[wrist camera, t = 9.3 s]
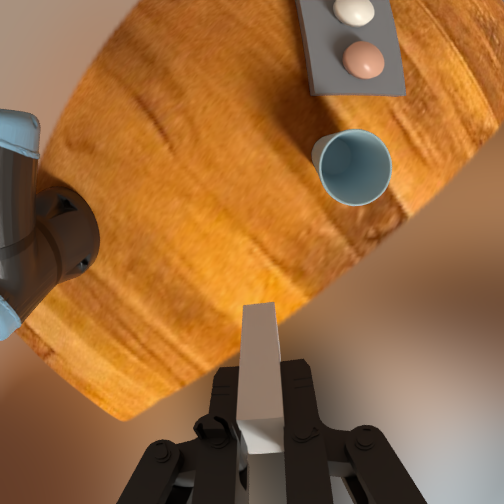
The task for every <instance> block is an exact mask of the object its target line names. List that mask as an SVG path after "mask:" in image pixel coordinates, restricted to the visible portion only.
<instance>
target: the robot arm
mask: <svg viewBox="0 0 504 504" xmlns="http://www.w3.org/2000/svg"><path fill="white" fill-rule="evenodd" d="M39 138H40V123H39V120H38V119H37V117H35V116H34V115H33V114H30V113H26V112H21V111H15V110H6V109H0V341H2V340H4V339H6V338H7V337H8V336H9V335H10V334H11V333H12V332H13V331H14V330H15V329H16V328H19V327H20V326H21V324H22V323H23V322H24V320H25V319H26V318H27V317H28V316H29V315H30V313H31V312H32V311H33V310H34V309H35V308H36V307H37V305H38V304H39V303H40V302H41V301H42V300H43V299H44V298H45V297H46V295H47V294H48V293H49V292H50V291H51V290H52V289H53V288H54V287H55V286H56V285H57V284H59V283H62V282H64V281H67V280H70V279H73V278H75V277H78V276H80V275H81V274H83V273H84V272H85V271H86V270H87V269H88V268H89V267H90V266H91V265H92V264H93V263H94V261H95V259H96V257H97V255H98V251H99V245H100V236H99V229H98V225H97V222H96V219H95V217H94V214H93V212H92V211H91V209H90V207H89V206H88V204H87V203H86V202H85V201H84V200H83V199H82V198H81V197H80V196H79V195H78V194H77V193H75V192H74V191H72V190H70V189H68V188H65V187H58V186H57V187H51V188H48V189H46V190H44V191H41V192H40V193H38V194H37V195H36V182H37V169H38V159H40V154H39ZM193 429H194V431H195V432H196V434H197V436H198V437H197V438H196V439H194V440H191V441H187V442H183V443H179V444H175V443H173V442H171V441H169V440H163V439H162V440H158V441H155V442H153V443H152V444H150V445H149V446H148V448H147V449H146V451H145V452H144V454H143V456H142V458H141V460H140V462H139V463H138V465H137V467H136V469H135V471H134V472H133V474H132V476H131V478H130V480H129V482H128V484H127V485H126V487H125V489H124V491H123V493H122V494H121V496H120V498H119V500H118V502H117V503H116V504H249V463H248V460H247V454H248V453H247V452H249V454H260V453H274V452H284V456H285V473H286V474H285V475H286V495H287V504H333V496H332V489H331V482H330V476H336V477H341V479H342V481H343V483H344V485H345V487H346V489H347V491H348V493H349V495H350V497H351V499H352V501H353V503H354V504H427V502H426V501H425V499H424V498H423V496H422V494H421V493H420V491H419V489H418V488H417V486H416V485H415V483H414V481H413V480H412V478H411V477H410V475H409V474H408V472H407V470H406V469H405V467H404V466H403V464H402V463H401V461H400V459H399V458H398V457H397V455H396V453H395V452H394V450H393V448H392V447H391V445H390V444H389V442H388V441H387V439H386V438H385V436H384V434H383V433H382V432H381V431H380V430H379V429H378V428H376V427H374V426H371V425H362V426H358V427H356V428H354V429H353V430H351V431H343V430H335V429H331V428H329V427H327V426H326V425H324V424H323V423H322V421H321V420H320V418H319V415H318V409H317V403H316V397H315V391H314V387H313V381H312V375H311V369H310V366H309V365H308V364H307V362H306V361H305V360H304V359H298V360H290V361H283V362H281V357H280V346H279V337H278V329H277V321H276V313H275V305H274V302H269V303H261V304H252V305H243V318H242V334H241V350H240V366H236V367H220V368H219V370H218V371H217V373H216V374H215V376H214V379H213V388H212V393H211V400H210V407H209V414H207V415H205V416H203V417H201V418H199V419H198V421H197V422H196V423H195V425H194V427H193Z"/></svg>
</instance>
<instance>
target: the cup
mask: <svg viewBox="0 0 504 504" xmlns="http://www.w3.org/2000/svg"><path fill="white" fill-rule="evenodd" d="M312 162H313V164H314V167H315V169H316V171H317V173H318V175H319V178H320V180H321V182H322V185H323V187H324V188H325V190H326V191H327V192H328V194H329V195H330V196H331V197H332V198H334V199H335V200H337V201H338V202H340V203H343V204H346V205H350V206H360V205H365V204H368V203H370V202H372V201H374V200H376V199H377V198H378V197H379V196H380V195H381V194H382V193H383V192H384V191H385V189H386V188H387V186H388V184H389V181H390V178H391V173H392V162H391V157H390V154H389V151H388V149H387V147H386V146H385V144H384V143H383V142H382V141H381V140H380V139H379V138H378V137H377V136H376V135H374V134H372V133H370V132H368V131H365V130H361V129H349V130H345V131H341V132H338V133H335V134H331V135H327V136H324V137H322V138H320V139H319V140H318V141H317V142H316V143H315V144H314V147H313V149H312Z"/></svg>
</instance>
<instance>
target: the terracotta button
mask: <svg viewBox="0 0 504 504" xmlns="http://www.w3.org/2000/svg"><path fill="white" fill-rule="evenodd" d="M342 60H343V65H344V67H345V69H346V70H347V71H348V73H349V74H351V75H352V76H354V77H355V78H358V79H363V80H365V79H370V78H373V77H376V76H378V75H379V74H380V73H381V72H382V71H383V68H384V58H383V55H382V53H381V52H380V50H379V49H378V48H377V47H376V46H374V45H373V44H371V43H369V42H365V41H358V42H355V43H353V44H352V45H350V46H349V47H348V48H347V49H346V50H345V51H344V53H343V57H342Z"/></svg>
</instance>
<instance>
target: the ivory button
mask: <svg viewBox="0 0 504 504" xmlns="http://www.w3.org/2000/svg"><path fill="white" fill-rule="evenodd" d="M333 11H334V14H335V16H336V17H337V19H338V20H339V21H341V22H342V23H343V24H345V25H347V26H350V27H362V26H364V25H366V24H367V23H368V22H369V21H371V20H372V18H373V17H374V7H373V5H372V3H371V2H370V1H369V0H336V1H335V3H334V5H333Z"/></svg>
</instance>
